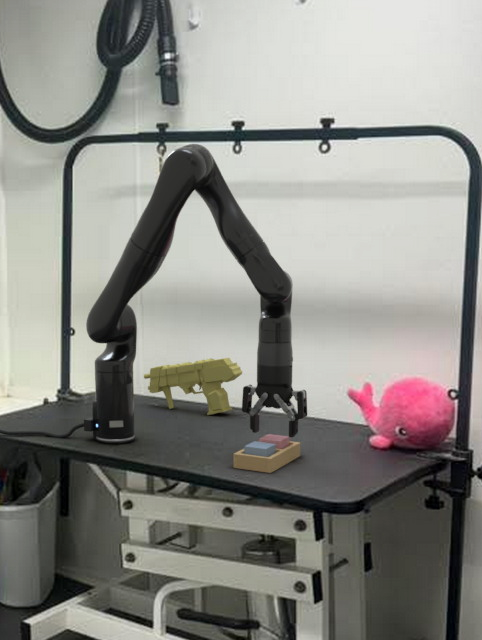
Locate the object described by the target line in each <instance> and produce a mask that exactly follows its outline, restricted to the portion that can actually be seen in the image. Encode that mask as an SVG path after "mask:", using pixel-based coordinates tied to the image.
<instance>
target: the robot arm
mask: <svg viewBox="0 0 482 640" xmlns="http://www.w3.org/2000/svg"><path fill="white" fill-rule="evenodd" d="M194 191H195V192H196V193H197V195H199V197H200V198H201V199H202V201H203V202H204V203H205V205H206V207H207V208H208V210H209V212H210V214H211V216H212V218H213V221H214V223H215V225H216V226H215V227H216V228H217V232H218V233H219V237H220V238H221V240H222V242H223V243H224V245H225V246H226V248H227V250H228V251H229V252H230V253H231V255H232V256H233V258H234V259H235V260H236V262H237V263H238V264H239V266H240V267H241V268H242V269H243V270H244V272H245V274H246V276H247V278H248V279H249V281H250V282H251V284H252V285H253V287H254V289H255V290H256V292H257V293H258V295H259V301H260V303H259V305H260V306H259V307H260V308H259V309H260V310H259V311H260V315H259V319H258V335H257V336H258V340H257V341H258V343H257V350H256V386H253V385H252V384H247V385H245V386H243V388H242V399H241V412H242V413H246V414H248V415H249V428H250V430H251V432H252V433H253V434H257V433H259V431H260V414H259V413H260V412H261V410H263V408H264V407H265V408H268V409H269V408H274V409H277V410H280V409H281V410H282V411H283V413H285V414H286V416H287V417H288V419H289V420H288V436H289V438H294V437H296V435H298V434H299V420H302V419H303V418H306V417H307V416H308V397H307V394H308V393H307V391H306V389H301V390H294V388H293V361H294V356H293V354H294V353H293V343H292V340H293V339H292V337H293V324H292V316H291V315H292V305H293V304H292V303H293V289H294V288H293V285H294V284H293V279H292V277H291V276H290V274H289V273H288V272H287V271H286V270H283V268H282V267H281V265H280V264H279V263H278V261H277V260H276V259H275V257H274V256H273V255H272V254H271V253H272V252H271V251H270V248H269V247H268V245H267V243H266V242H265V241H264V239H263V238H262V236H261V235H260V234H259V232H258V231H257V230H256V228H255V226H253V224H252V223H251V221H250V219H249V218H248V217H247V215H246V214H245V213H244V210H243V209H242V208H241V205H239V203H238V201H237V200H236V198H235V196H234V194H233V192H232V191H231V189H230V187H229V186H228V184H227V182H226V180H225V178H224V176H223V174H222V172H221V170H220V168H219V166H218V164H217V161H216V160H215V158H214V156H213V154H212V153H211V151H210V150H209V149H208V148H207V147H206V146H204V145H202V144H199V143H190V144H185V145H183V146H181V147H179V148H176V149H174V150H172V151H171V152H170V153H169V154H168V155H167V157H166V158H165V160H164V162H163V164H162V166H161V169H160V171H159V174H158V178H157V181H156V184H155V186H154V189H153V192H152V194H151V196H150V198H149V201H148V202H147V204H146V207H145V208H144V210H143V212H142V213H141V215H140V217H139V219H138V221H137V223H136V225H135V226H134V229H133V231H132V232H131V234H130V236H129V238H128V241H127V242H126V244H125V246H124V249H123V251H122V253H121V255H120V258H119V260H118V262H117V263H116V265H115V267H114V270H113V271H112V274H111V275H110V277H109V279H108V280H107V283H106V284H105V287H104V288H103V289H102V291H101V293H100V294H99V296H98V298H97V299H96V301H95V302H94V304H92V307H91V309H90V310H89V312H88V315H87V318H86V323H85V326H86V333H87V336H88V337H89V339H90V340H91V341H92V342H94V343H96V344H106V345H105V348H104V350H103V351H102V352H101V353H100V355H98V356H97V357H96V358H95V360H94V390H95V400H93V401H92V402H91V407H92V408H91V409H92V410H91V411H92V413H91V414H92V416H90V417H87V418H85V419H83V423H79V424H77V425H74V426H73V427H72V428H71V429H70V430H69V431H68V432H67V433H64V434H56V433H51V432H47V431H40V430H39V431H38V430H37V431H36V430H26V431H25V430H24V431H22V430H21V431H20V430H19V431H17V430H16V431H12V430H11V431H10V430H9V431H8V430H3V429H0V434H2V435H8V436H37V435H38V436H45V437H49V438H55V439H66V438H69V437H70V436H71V435H73V434H74V432H75V431H77V430H78V429H81V428H83V431H84V432H89V433H90V432H92V439H93V440H94V441H97V442H98V443H103V444H111V445H112V444H113V445H114V444H115V445H116V444H117V445H119V444H126V443H130V442H133V441H135V439H136V435H135V397H134V396H135V395H134V391H135V390H134V389H135V388H134V363H135V360H136V357H137V343H138V341H137V340H138V323H137V317H136V313H135V311H134V309H133V308H132V306H130V305H129V303H130V301H132V298H133V297H134V296H136V294H137V293H139V291H140V290H141V289H142V288H143V287H144V286H146V285H147V284H148V283H149V282H150V281H151V280H152V279H153V278H154V277H155V275H156V274H157V273H158V271H160V269H161V267H162V265H163V263H164V261H165V259H166V257H167V255H168V253H169V252H170V250H171V247H172V244H173V240H174V237H175V231H176V226H177V222H178V219H179V216H180V213H181V212H182V210H183V208H184V206H185V204H186V203H187V202H188V199H189V198H190V196H191V195H192V193H194ZM254 395H256V396H257V397H258V399H257V401H256V402H255V404H254V405H253V407H252V404H253V396H254ZM293 397H294V400H295V401H296V406H297V407H295V405H294V403H293V402H292V401H291V399H292V398H293ZM296 408H297V410H296Z"/></svg>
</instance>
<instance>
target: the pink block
mask: <svg viewBox="0 0 482 640" xmlns="http://www.w3.org/2000/svg"><path fill="white" fill-rule="evenodd" d="M258 441H259V442H264V443H272V444H276V449H284V448H286V447H288V446H289V441H290V437H289V435H281V434H280V435H279V434H271V433H267V434H265V435H263V436H262V437H259V440H258Z"/></svg>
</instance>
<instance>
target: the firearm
mask: <svg viewBox="0 0 482 640" xmlns="http://www.w3.org/2000/svg"><path fill="white" fill-rule="evenodd" d="M242 374H243V370H242V369H241V366H239V365H238V363H237V362H233V361H232V359H231V358H230V357H224V358H219V359H218V358H217V359H215V358H212V357H211V358H206V359H199V360H195V361H194V362H191V361H187V362H181V363H175V364H164V365H159V366H154V367H151V368H150V369H149V373H148V372H147V373H144V374H143V378H144V379H145V380H147V379H149V385H148V386H147V390H148V391H149V393H151V394H156V393H163V394H164V397H165V399H166V402H167V406H168V410H170V409H171V410H172V409H174V408H175V406H174V401H173V396H172V389H171V388H174V387H179V388H180V389H181V390H182V391H183V392H184V394H185V395H188V394H193V395H198V394H203V395H204V397H205V398H206V402H207V408H208V411H207V413H206V415H207V416H210V415H215V414H219V413H225V412H228V411H231V410H233V406H230V401H229V395H228V391H226V389H225V388H224V387H222V385H223V383H229V382H232V381H235V380H236V379H237V378H239V377H240V376H241V375H242ZM196 385H198V386H199V388H198V391H196V390H195V389H194V387H195V386H196Z"/></svg>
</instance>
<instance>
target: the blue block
mask: <svg viewBox="0 0 482 640" xmlns="http://www.w3.org/2000/svg"><path fill="white" fill-rule="evenodd" d="M243 449H244V454H248V455H256V456H263V457H270V456H271V455H273V454H275V450H276V444H272V443H264V442H258V441H255V440H253V441H252V442H250V443H248V444H246V445H244V447H243Z"/></svg>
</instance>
